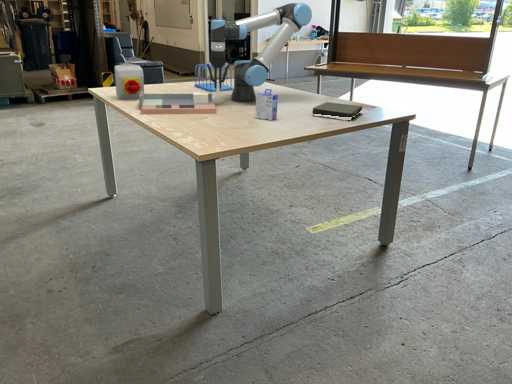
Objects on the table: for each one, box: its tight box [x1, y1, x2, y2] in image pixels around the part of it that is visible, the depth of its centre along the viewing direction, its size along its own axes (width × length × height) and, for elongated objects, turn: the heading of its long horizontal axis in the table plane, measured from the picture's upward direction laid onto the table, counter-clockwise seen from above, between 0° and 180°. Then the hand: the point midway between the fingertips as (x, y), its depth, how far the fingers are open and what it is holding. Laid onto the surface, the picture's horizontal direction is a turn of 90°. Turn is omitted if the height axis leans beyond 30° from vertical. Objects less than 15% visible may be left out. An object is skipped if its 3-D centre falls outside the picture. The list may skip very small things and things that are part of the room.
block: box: [192, 91, 209, 103], centre depth 241 cm, size 8×8×4 cm
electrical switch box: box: [114, 63, 145, 101], centre depth 252 cm, size 15×15×20 cm
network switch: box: [312, 101, 363, 117], centre depth 229 cm, size 23×24×5 cm
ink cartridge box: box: [255, 88, 279, 121], centre depth 215 cm, size 10×6×14 cm, turn 58°
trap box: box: [138, 90, 217, 115], centre depth 233 cm, size 40×28×7 cm
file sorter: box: [194, 63, 234, 93], centre depth 296 cm, size 25×17×15 cm
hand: (217, 94), depth 242 cm, fingers closed
